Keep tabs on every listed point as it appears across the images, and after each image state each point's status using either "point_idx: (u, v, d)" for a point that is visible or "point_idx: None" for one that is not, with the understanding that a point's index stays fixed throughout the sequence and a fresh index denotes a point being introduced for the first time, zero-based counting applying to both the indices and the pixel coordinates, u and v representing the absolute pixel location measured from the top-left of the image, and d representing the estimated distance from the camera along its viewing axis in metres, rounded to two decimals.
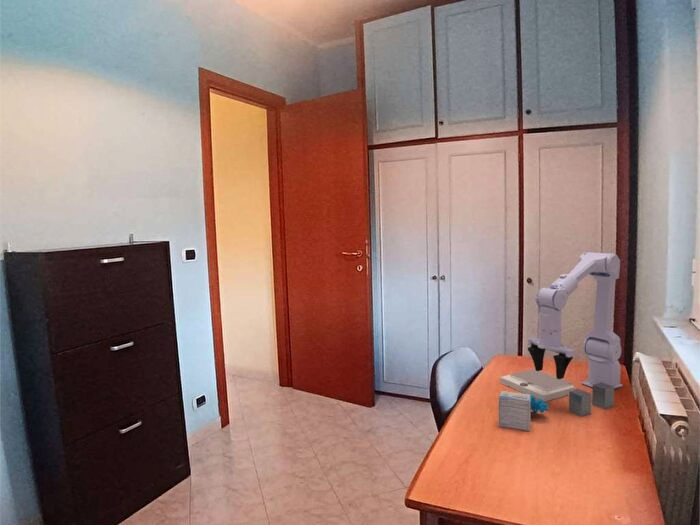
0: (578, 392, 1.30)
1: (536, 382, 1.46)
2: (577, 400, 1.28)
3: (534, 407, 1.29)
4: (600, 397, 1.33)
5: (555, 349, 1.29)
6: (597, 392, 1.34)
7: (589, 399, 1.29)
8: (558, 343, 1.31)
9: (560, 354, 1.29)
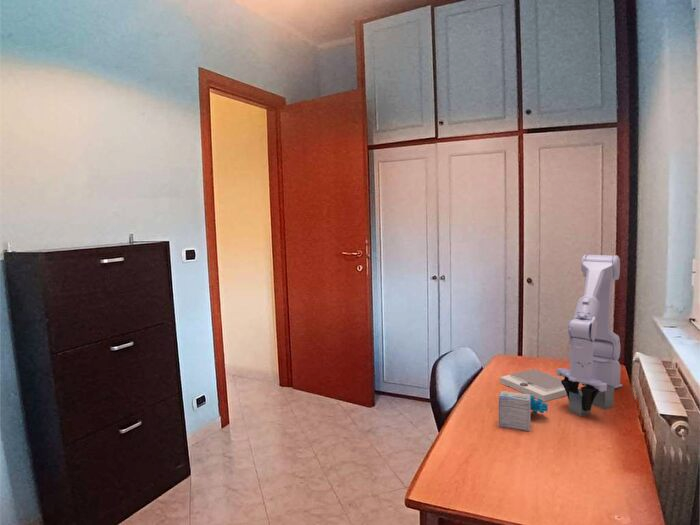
0: (578, 392, 1.30)
1: (536, 382, 1.46)
2: (577, 400, 1.28)
3: (534, 407, 1.29)
4: (600, 397, 1.33)
5: (587, 382, 1.25)
6: None
7: None
8: (590, 376, 1.27)
9: (592, 387, 1.25)
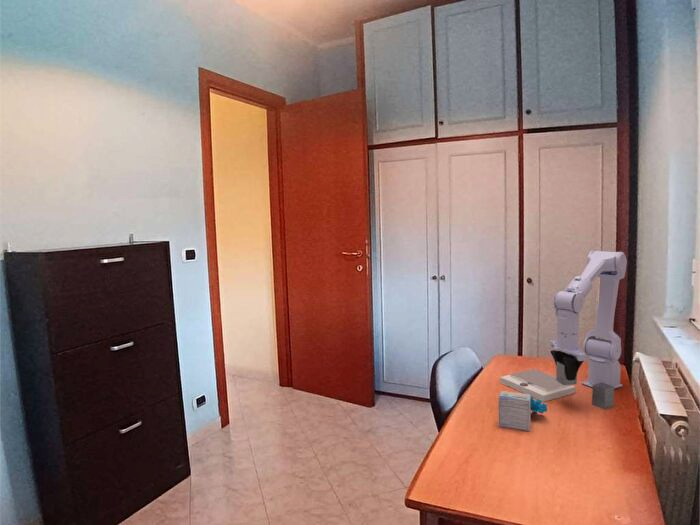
0: None
1: (536, 382, 1.46)
2: (561, 369, 1.34)
3: (533, 408, 1.29)
4: (600, 397, 1.33)
5: (568, 352, 1.30)
6: (597, 392, 1.34)
7: None
8: (573, 346, 1.31)
9: (573, 357, 1.30)
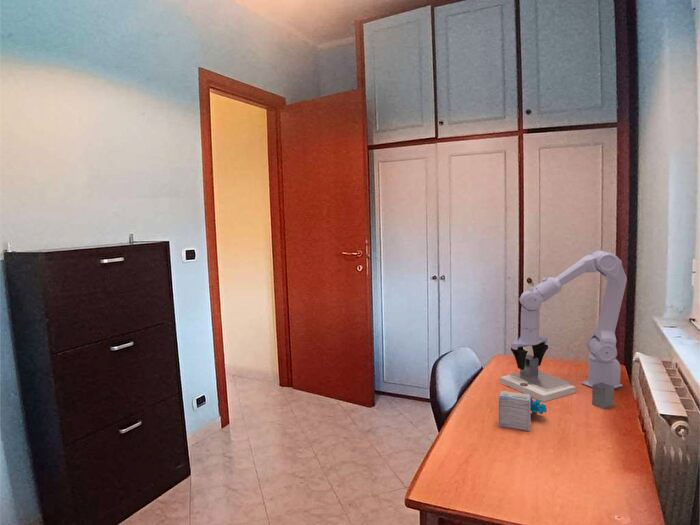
0: (529, 356, 1.53)
1: (536, 382, 1.46)
2: None
3: (533, 408, 1.28)
4: (600, 397, 1.33)
5: None
6: (597, 392, 1.34)
7: (527, 363, 1.51)
8: (523, 339, 1.51)
9: None
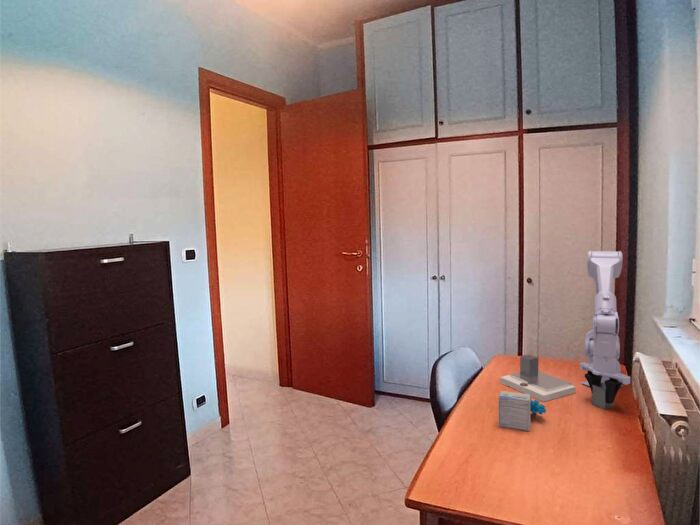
0: (529, 356, 1.53)
1: (536, 382, 1.46)
2: None
3: (532, 408, 1.28)
4: (600, 397, 1.33)
5: (611, 376, 1.29)
6: (597, 392, 1.34)
7: (527, 363, 1.51)
8: (613, 369, 1.31)
9: (616, 381, 1.29)
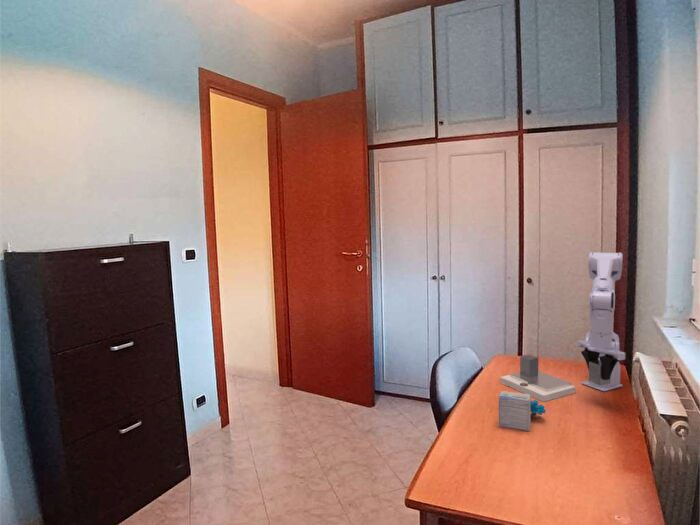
0: (529, 356, 1.53)
1: (536, 382, 1.46)
2: None
3: (532, 409, 1.28)
4: (596, 373, 1.33)
5: (606, 352, 1.30)
6: (593, 368, 1.34)
7: (527, 363, 1.51)
8: (609, 346, 1.31)
9: (611, 357, 1.29)
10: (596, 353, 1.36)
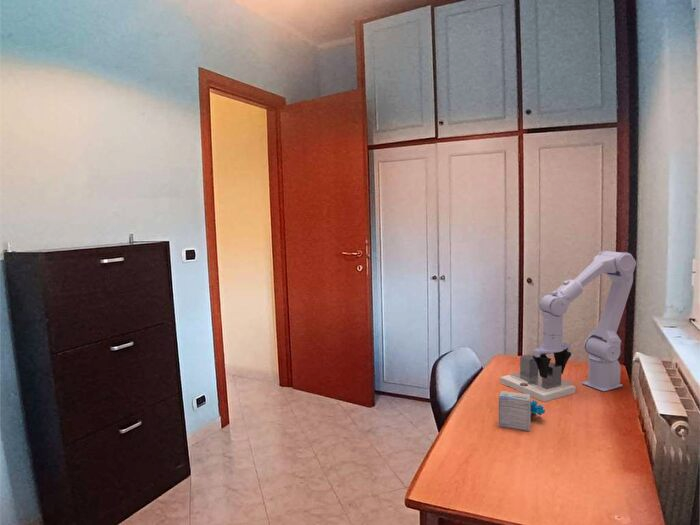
0: (529, 356, 1.53)
1: (536, 382, 1.46)
2: None
3: (531, 409, 1.28)
4: None
5: None
6: None
7: (527, 363, 1.51)
8: (546, 345, 1.43)
9: None
10: (562, 355, 1.45)
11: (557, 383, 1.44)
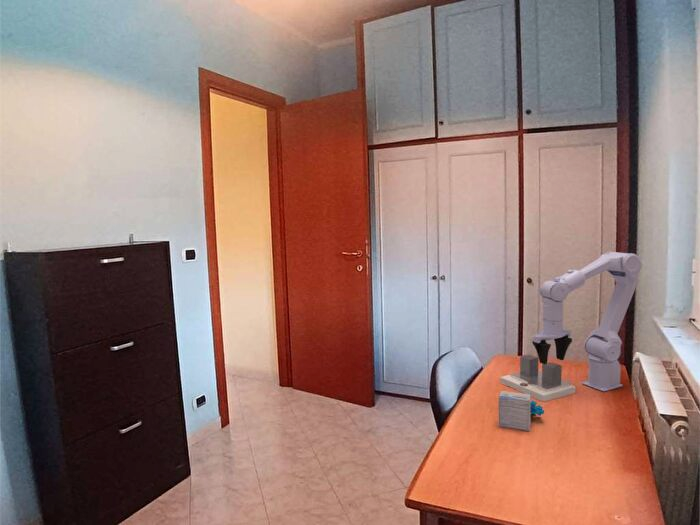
0: (529, 356, 1.53)
1: (536, 382, 1.46)
2: None
3: None
4: None
5: None
6: None
7: (527, 363, 1.51)
8: (546, 331, 1.42)
9: None
10: (563, 341, 1.45)
11: (557, 383, 1.44)
